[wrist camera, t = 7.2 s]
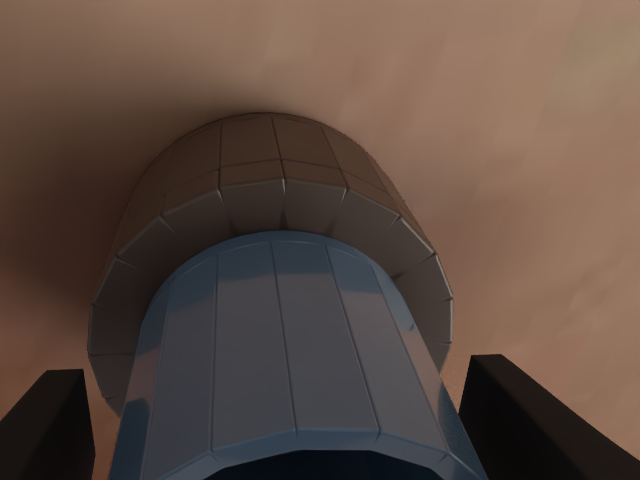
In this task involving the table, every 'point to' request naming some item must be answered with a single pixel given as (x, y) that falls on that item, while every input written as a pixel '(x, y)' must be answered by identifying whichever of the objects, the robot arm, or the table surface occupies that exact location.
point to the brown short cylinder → (257, 225)
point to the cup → (285, 373)
